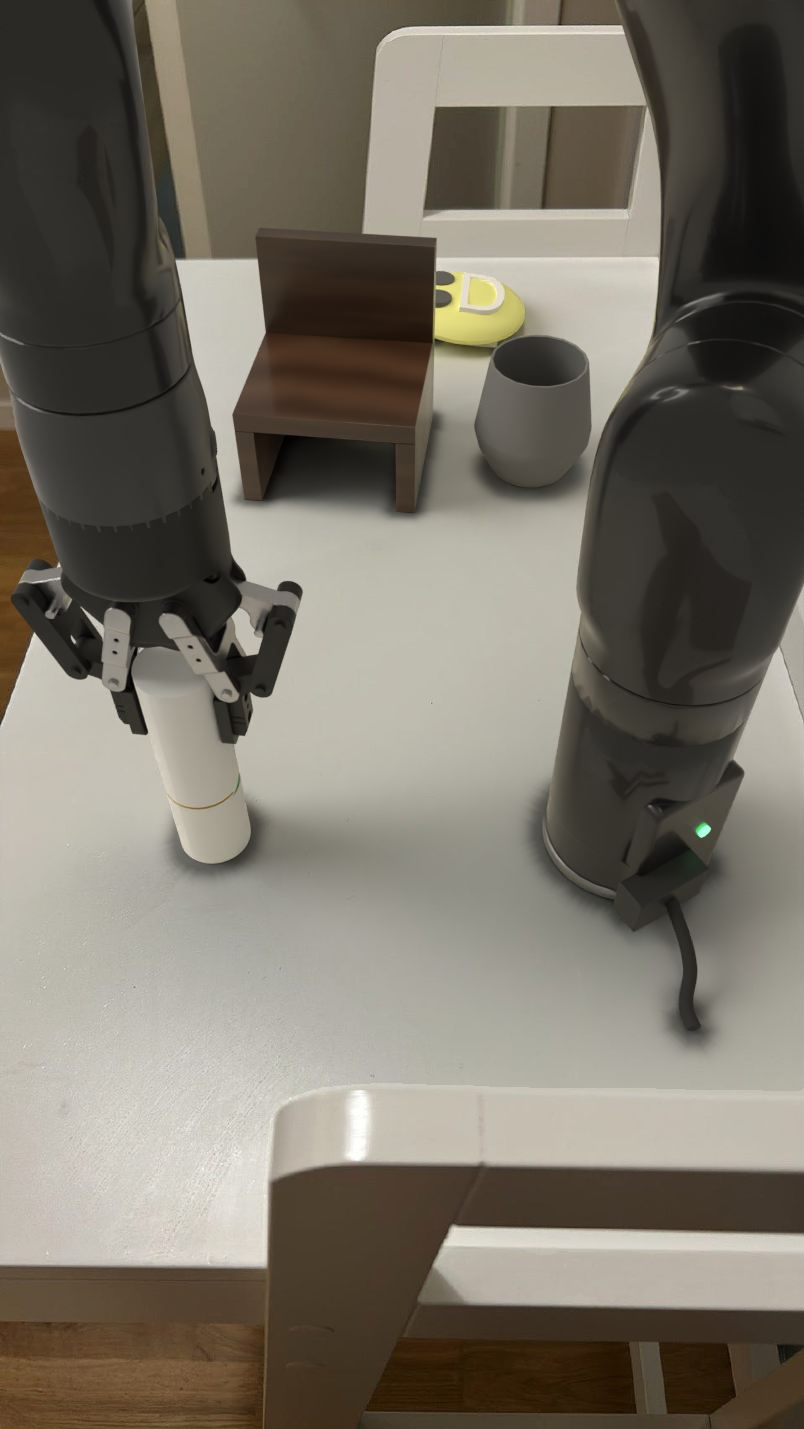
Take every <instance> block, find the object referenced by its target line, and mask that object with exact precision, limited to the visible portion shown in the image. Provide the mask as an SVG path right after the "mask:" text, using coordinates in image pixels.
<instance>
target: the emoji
mask: <svg viewBox="0 0 804 1429" xmlns="http://www.w3.org/2000/svg"><path fill="white" fill-rule="evenodd" d="M525 319H526V307H525V305H524V302H523V300H522V299H521V297H520V296H519V295H518V294H517V293H516V292H515V291H514V289H512V288H511V287H509V286H508V285H507V284H504V283H503V282H501V281H499V280H498V279H496V278H494V277H492V276H488V275H484V274H479V273H473V272H466V271H445V270H436V298H435V340H439V341H443V342H446V343H450V344H455V345H465V346H468V347H469V346H470V347H477V348H491V349H495V348H496V347H498V343H499V342H500V341H502V340H505V339H507V338H510V337H511V336H513V335H514V334H515V333H517V332H518V331H519V329H520V328H521V327H522V325H523V324H524V322H525Z"/></svg>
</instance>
